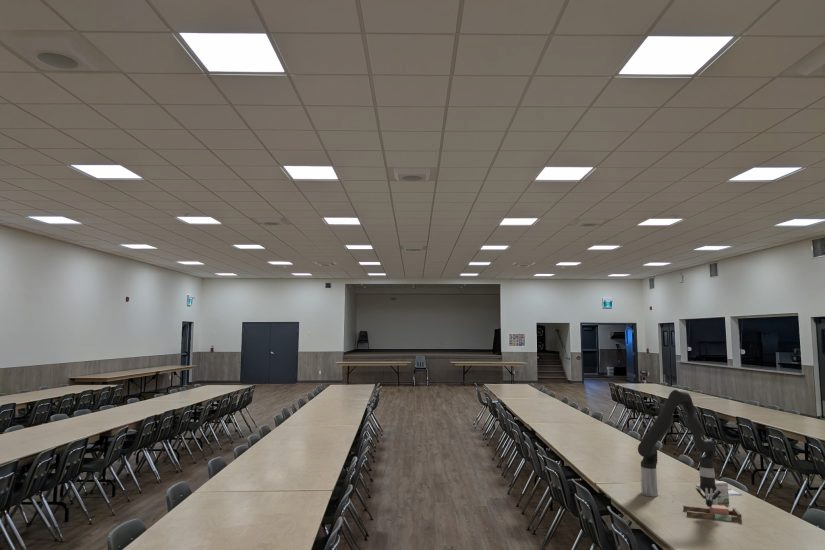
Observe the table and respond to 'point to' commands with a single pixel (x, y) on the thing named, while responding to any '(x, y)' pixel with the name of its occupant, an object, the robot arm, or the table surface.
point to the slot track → (706, 513)
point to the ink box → (722, 492)
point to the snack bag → (729, 491)
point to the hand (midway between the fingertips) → (709, 506)
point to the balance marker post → (715, 501)
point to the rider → (719, 510)
